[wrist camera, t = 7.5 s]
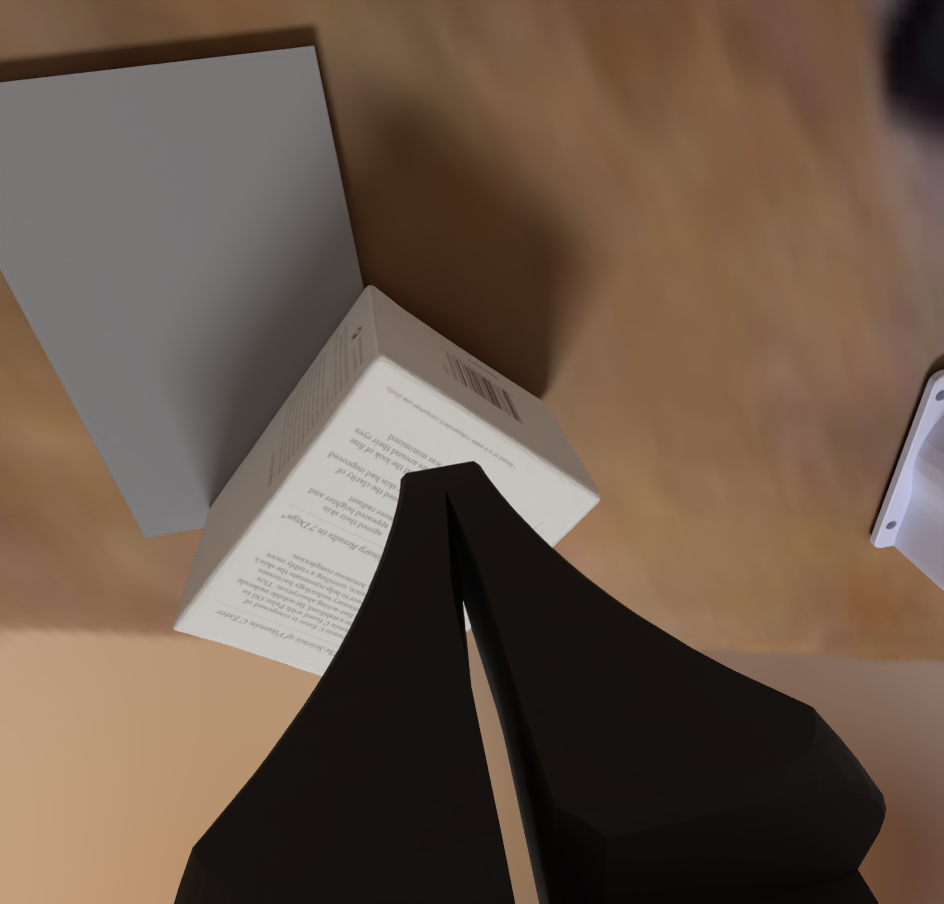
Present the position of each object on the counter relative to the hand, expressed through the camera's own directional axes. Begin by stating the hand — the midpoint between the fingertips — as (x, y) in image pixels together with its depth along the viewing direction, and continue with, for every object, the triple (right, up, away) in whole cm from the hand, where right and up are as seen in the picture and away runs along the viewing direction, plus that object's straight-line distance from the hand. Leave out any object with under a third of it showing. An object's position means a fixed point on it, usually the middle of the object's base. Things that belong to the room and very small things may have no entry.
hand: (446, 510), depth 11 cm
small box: (+1, +3, +7) cm, 8 cm away
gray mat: (-8, +5, +8) cm, 12 cm away
